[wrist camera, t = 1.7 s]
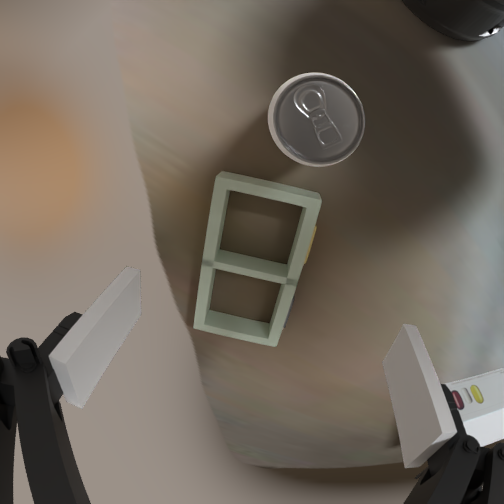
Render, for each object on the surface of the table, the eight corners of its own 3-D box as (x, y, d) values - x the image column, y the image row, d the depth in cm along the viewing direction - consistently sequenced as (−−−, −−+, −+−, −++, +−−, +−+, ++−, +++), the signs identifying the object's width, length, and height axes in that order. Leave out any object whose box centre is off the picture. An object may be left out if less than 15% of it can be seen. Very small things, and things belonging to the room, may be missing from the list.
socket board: (321, 193, 31) (325, 201, 28) (279, 331, 39) (278, 347, 36) (221, 170, 31) (215, 176, 28) (199, 313, 39) (193, 328, 36)
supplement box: (514, 361, 39) (535, 396, 30) (491, 406, 44) (505, 438, 35) (441, 382, 41) (459, 425, 33) (423, 425, 46) (434, 464, 38)
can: (320, 76, 26) (343, 53, 15) (349, 135, 28) (387, 148, 17) (260, 103, 28) (246, 95, 17) (291, 161, 30) (295, 188, 19)
